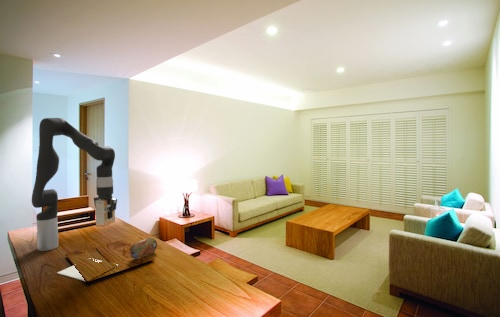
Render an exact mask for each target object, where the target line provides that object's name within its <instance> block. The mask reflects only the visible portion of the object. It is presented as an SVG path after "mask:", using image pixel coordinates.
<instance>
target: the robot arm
mask: <svg viewBox="0 0 500 317" xmlns="http://www.w3.org/2000/svg"><path fill="white" fill-rule="evenodd" d="M38 130H39V133H38V134H39V136H38V137H39V138H38V139H39V143H38V144H39V146H38V156H37V161H36V173H35V182H34V185H33V189H32V195H31V204H32V206H33V208H36V209H37V208H45V207H46V208H45V209H44V210H42V211H40V212H38V213H37V214H36V216H35V218H36V244H37V245H36V246H37V251H39V252H46V251H51V250H55V249H56V248H58V247H59V228H58V211H59V208H58V207H59V204H58V202H59V199H58V197H59V196H58V192H57V190H56V189H53V188H51V189H45V187H46V186H47V184H48V183H49V182H50V180H52V178H53V177H55V175H56V174H57V173H58V170H59V166H60V156H59V155H58V153H57V151H56V150H55V148H54V146H53V145H54V143H53V142H54V136H55V137H56V136H64V137H68V138H70V139H71V140H72V142H73V144H74V145H75V146H76V147H77V148H78V149H81V150H82V151H84V152H86V153H87V154H88V155H89V156H90V157H91V158H92V159H94V160H96V161H101V163H100V164H99V165H98V166H97V167H96V181H95V184H96V187H95V188H96V195H97V197H96V196H95V197H93V203H94V208H95V209H96V201H98V200H104V201H105V200H107V204H110V203H111V205H107V204H106V207H107V211H108V212H107V213H108V219H111V218H112V217H113V213H112V211H113V210H115V211H116V209H117V204H118V203H117V202H118V199H117V198H115V199H113V198H114V197H113V194H114V180H113V166H114V162H115V159H116V153H115V150H114V148H113V147H111V146H100V145H99V143H98V142H97V141H96V140H95V139H93V138H91V137H89V136H88V135H85V134H84V133H82V131H80V130H78V128H76V127H74V126H73V125H72V124H70V123H69V121H67V120H66V119H64V118H62V117H61V118H60V117H46V118H42V119H41V120H40V123H39V129H38ZM113 206H114V208H113ZM109 207H110V209H109Z"/></svg>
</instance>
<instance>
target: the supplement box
mask: <svg viewBox="0 0 500 317" xmlns="http://www.w3.org/2000/svg"><path fill="white" fill-rule="evenodd" d="M112 198H113V199H116V198H114V197H112ZM106 204H107V200H105V201H104V200H98V201H96V208H95V226H96V227H103V228H104V227H107V226H108V225H111V224H114V223H116V217H115V216H116V213H115V212H116V210H113V211H112V213H113V217H112V218H111V219H108V213H107V212H108V211H107V207H106ZM107 205H111V203H110V204H107ZM113 208H114V206H113ZM109 209H110V207H109Z"/></svg>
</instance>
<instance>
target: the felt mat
mask: <svg viewBox="0 0 500 317" xmlns="http://www.w3.org/2000/svg"><path fill="white" fill-rule="evenodd" d="M91 258H92V257H91ZM91 258H90V257H89V258H88V259H91ZM92 259H93V261H94V259H95V258H92ZM96 260H97V261H96ZM102 261H103V260H99V259H95V262H98V263H99V262H102ZM115 264H116V263H115ZM74 265H75V264H74ZM74 265H72V266H69V267H67V268H64V269H62V270H60V271H58V272H56V274H58V275H61V276H64V277H65V276H66V277H69V278H73V279H76V280H78V281H79V280H80V281H82V282H86V281H85V280H84V278H83V277H82V275H81V274H80V273H79V271H78V270H77V269H76V268H75V266H74ZM116 265H117V267H119V266H118V265H119V264H116Z"/></svg>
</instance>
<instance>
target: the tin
mask: <svg viewBox="0 0 500 317" xmlns="http://www.w3.org/2000/svg"><path fill="white" fill-rule="evenodd" d="M157 246H158V242H157V240H156V239H155V238H150V237H148V238H144V239H142V240H140V241H137V242H134V243H132V245H131V246H130V248H129V256H130V257H131V258H132V259H134V260H136V259H138V258H140V257H143V256H145V257H147V256H150V255H153V254H154V253H155V251H156V250H157ZM143 258H144V257H143ZM138 260H139V259H138Z"/></svg>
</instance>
